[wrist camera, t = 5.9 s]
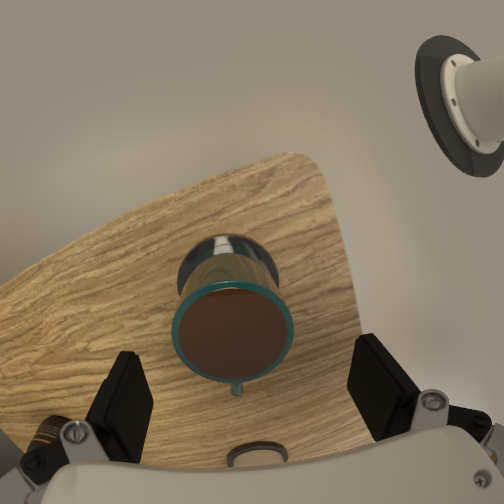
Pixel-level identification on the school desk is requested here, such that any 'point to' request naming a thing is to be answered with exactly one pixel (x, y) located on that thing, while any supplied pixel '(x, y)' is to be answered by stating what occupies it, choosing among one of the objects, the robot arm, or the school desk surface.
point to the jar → (47, 432)
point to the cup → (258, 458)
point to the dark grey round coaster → (256, 446)
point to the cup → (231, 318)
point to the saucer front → (225, 240)
